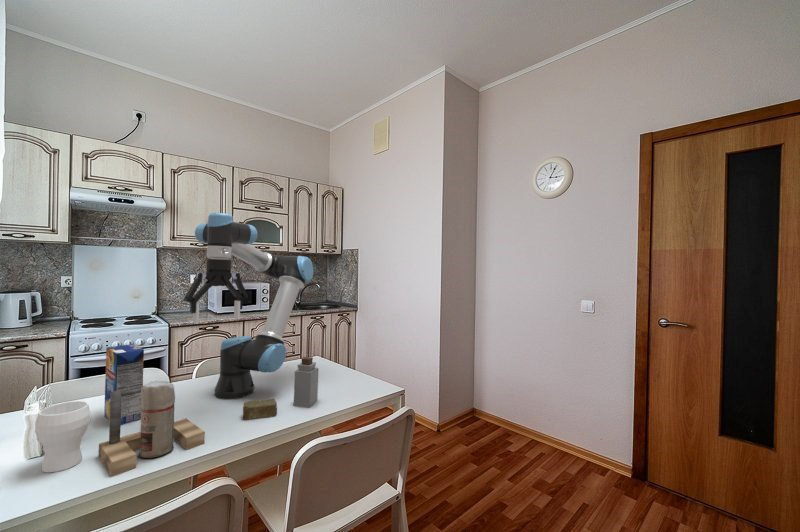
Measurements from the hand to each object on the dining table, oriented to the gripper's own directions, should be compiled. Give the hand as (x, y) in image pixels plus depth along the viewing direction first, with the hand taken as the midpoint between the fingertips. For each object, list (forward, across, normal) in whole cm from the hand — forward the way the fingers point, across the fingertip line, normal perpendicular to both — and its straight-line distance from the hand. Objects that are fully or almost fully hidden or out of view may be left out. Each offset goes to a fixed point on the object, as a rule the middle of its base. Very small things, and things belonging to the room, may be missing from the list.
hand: (217, 321), depth 119 cm
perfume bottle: (+35, +31, -9) cm, 48 cm away
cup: (+35, -37, +4) cm, 51 cm away
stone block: (+35, +13, -6) cm, 38 cm away
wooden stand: (+35, -19, -5) cm, 40 cm away
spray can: (+35, -19, -7) cm, 40 cm away
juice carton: (+35, -19, +26) cm, 47 cm away
